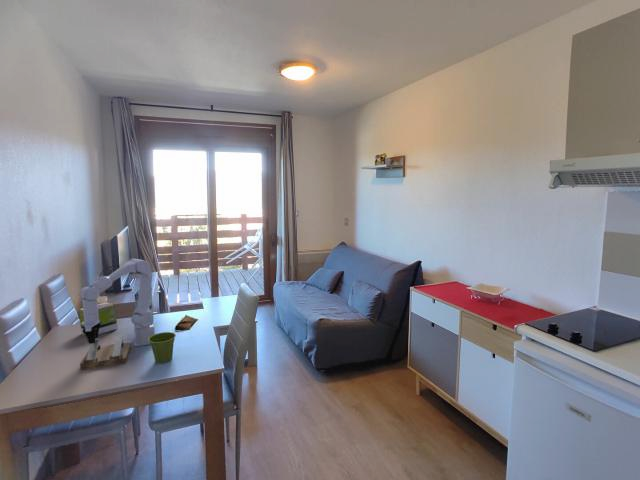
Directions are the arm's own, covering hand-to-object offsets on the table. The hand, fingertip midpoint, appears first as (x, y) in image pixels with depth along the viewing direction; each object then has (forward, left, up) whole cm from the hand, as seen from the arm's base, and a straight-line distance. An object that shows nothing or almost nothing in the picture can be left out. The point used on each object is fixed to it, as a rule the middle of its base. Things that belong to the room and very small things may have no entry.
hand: (93, 340), depth 167 cm
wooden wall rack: (-5, -1, -9) cm, 11 cm away
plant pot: (-30, +11, -10) cm, 34 cm away
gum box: (-18, -37, -10) cm, 42 cm away
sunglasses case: (-40, -33, -10) cm, 53 cm away
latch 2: (-10, +2, -4) cm, 11 cm away
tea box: (+6, -40, -10) cm, 41 cm away
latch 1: (0, +2, -4) cm, 4 cm away
